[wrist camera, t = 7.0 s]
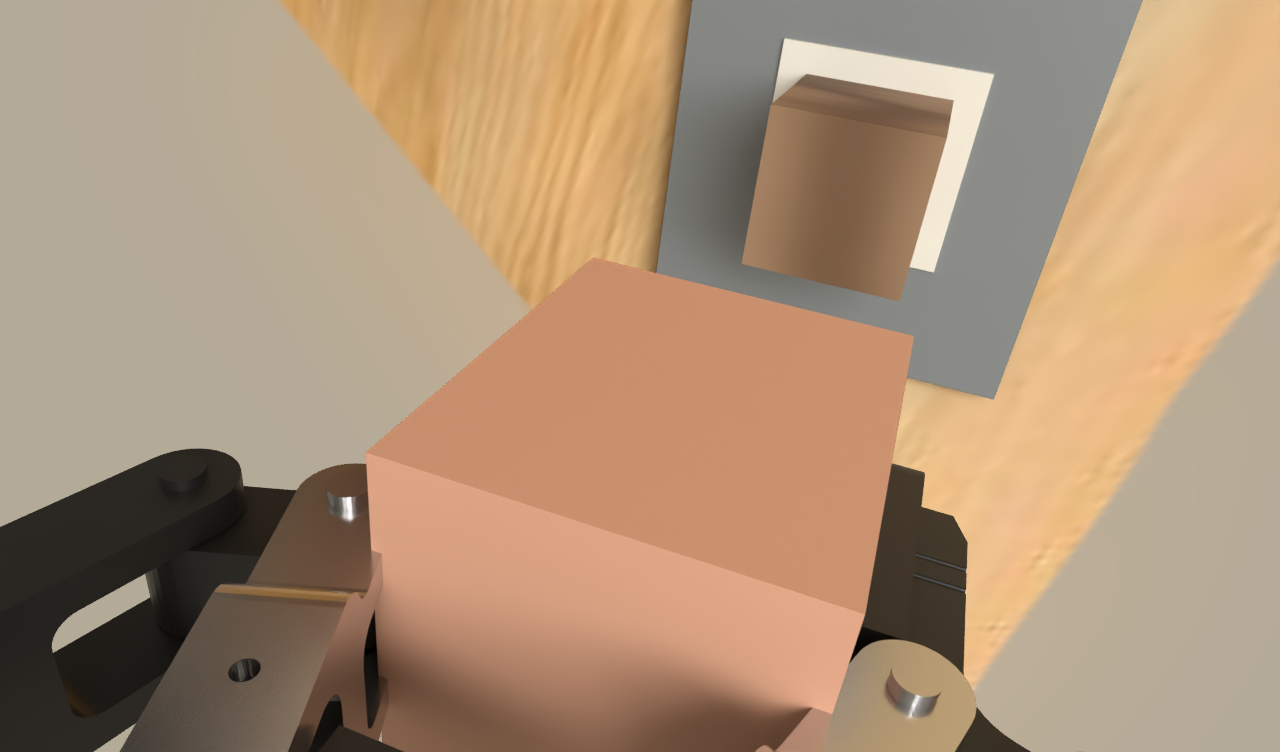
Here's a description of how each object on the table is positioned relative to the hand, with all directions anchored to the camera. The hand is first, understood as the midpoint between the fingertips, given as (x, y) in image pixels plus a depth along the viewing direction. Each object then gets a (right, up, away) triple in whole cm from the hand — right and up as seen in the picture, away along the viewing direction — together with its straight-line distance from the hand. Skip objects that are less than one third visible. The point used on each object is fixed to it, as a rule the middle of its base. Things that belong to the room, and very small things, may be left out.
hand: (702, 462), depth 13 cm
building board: (+7, +10, +19) cm, 22 cm away
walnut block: (+7, +9, +17) cm, 21 cm away
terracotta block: (0, 0, +1) cm, 1 cm away
